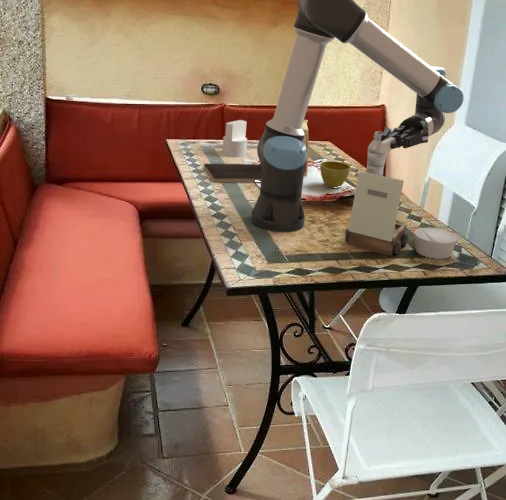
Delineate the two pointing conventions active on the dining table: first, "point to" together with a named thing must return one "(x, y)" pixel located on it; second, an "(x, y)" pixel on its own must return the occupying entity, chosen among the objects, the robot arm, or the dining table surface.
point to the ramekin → (434, 242)
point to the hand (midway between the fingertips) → (382, 148)
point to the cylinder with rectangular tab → (235, 139)
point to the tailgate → (375, 205)
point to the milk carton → (306, 144)
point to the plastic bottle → (375, 156)
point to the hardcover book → (234, 172)
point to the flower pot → (334, 173)
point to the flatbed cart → (379, 241)
